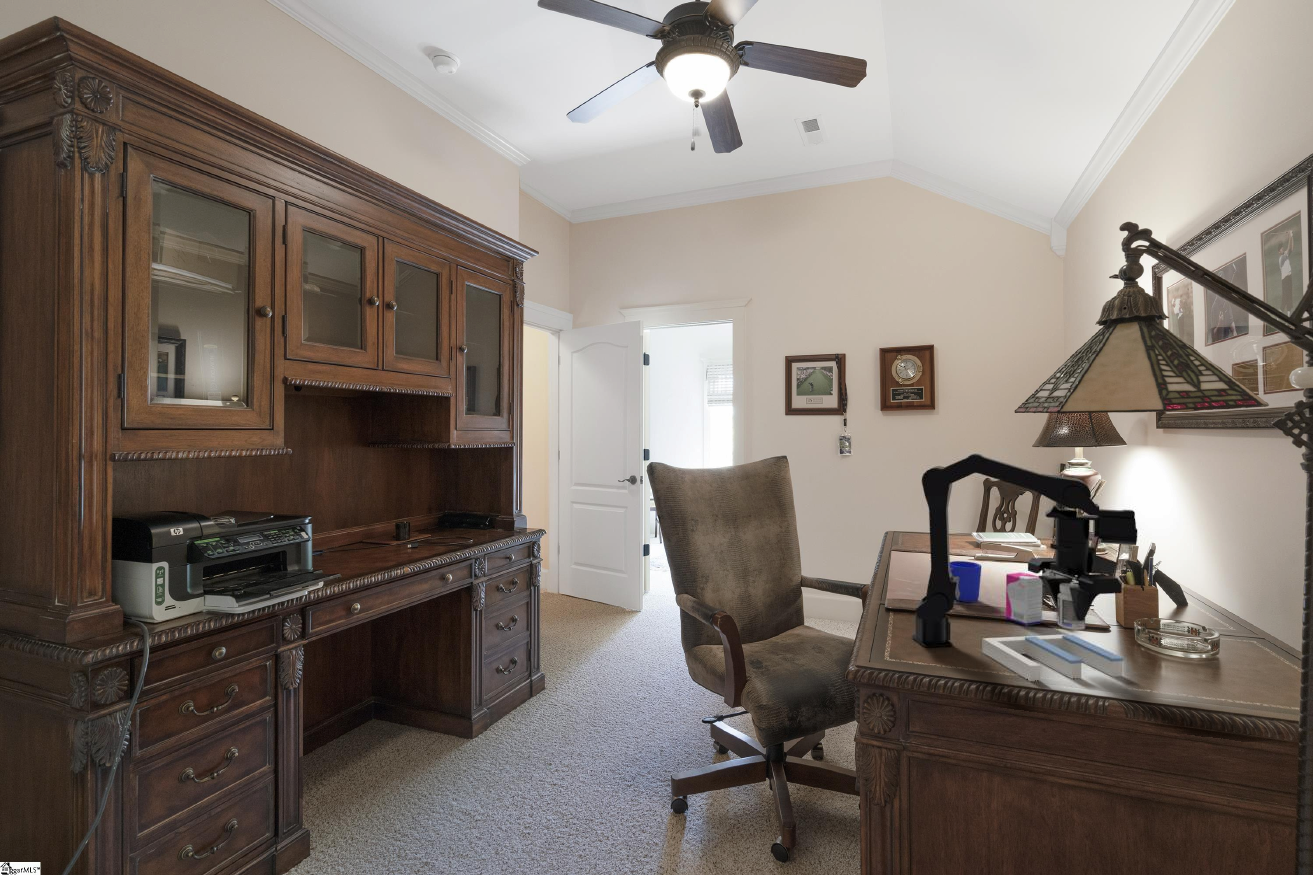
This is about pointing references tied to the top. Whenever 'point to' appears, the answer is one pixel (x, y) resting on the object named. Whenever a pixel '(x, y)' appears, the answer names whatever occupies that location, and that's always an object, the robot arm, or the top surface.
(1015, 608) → the supplement box
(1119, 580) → the robot arm
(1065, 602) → the pill bottle
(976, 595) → the mug
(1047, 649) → the white shelf frame
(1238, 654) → the top surface
